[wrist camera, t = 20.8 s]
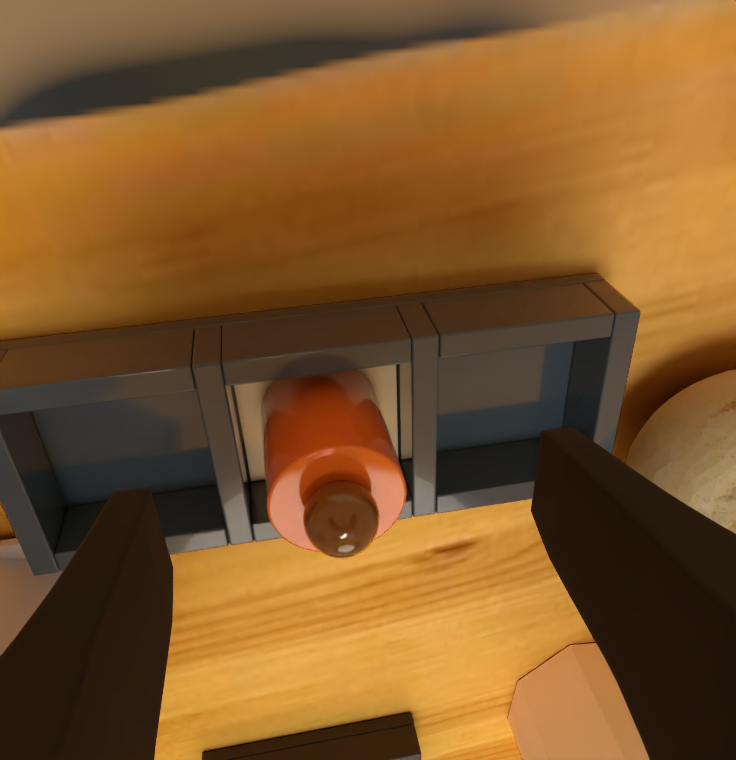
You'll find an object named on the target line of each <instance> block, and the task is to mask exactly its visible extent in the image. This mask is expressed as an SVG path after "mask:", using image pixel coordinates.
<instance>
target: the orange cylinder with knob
mask: <svg viewBox="0 0 736 760" xmlns="http://www.w3.org/2000/svg"><path fill="white" fill-rule="evenodd" d="M260 418H261V432H262V446H263V460H264V475H265V489H266V503H267V512H268V516H269V519H270V522H271V524H272V525H273V527H274V528H275V530H276V531H277V532H278V533H279V534H280V535H281V536H282V537H283V538H284V539H285V540H287V541H288V542H290V543H292V544H294V545H296V546H298V547H300V548H303V549H307V550H311V551H317V552H321V553H323V554H325V555H327V556H330V557H334V558H348V557H352V556H355V555H357V554H359V553H361V552H362V551H364V550H365V549H366V548H367V547H368V546H369V545H370V544H371V543H372V541H373V540H375V539H376V538H378V537H379V536H381V535H382V534H384V533H385V532H386V531H387V530H388V529H389V528H390V527H391V526H392V525H393V524H394V523H395V522H396V520H397V519H398V517H399V516H400V514H401V512H402V510H403V507H404V504H405V501H406V494H407V488H406V482H405V478H404V475H403V472H402V469H401V466H400V463H399V460H398V457H397V454H396V451H395V448H394V445H393V442H392V439H391V436H390V433H389V430H388V427H387V424H386V421H385V418H384V415H383V412H382V409H381V406H380V403H379V400H378V397H377V394H376V391H375V389H374V387H373V385H372V383H371V382H370V381H369V379H368V378H367V377H366V376H365V375H364V374H363V373H361V372H360V371H358V370H350V371H342V372H335V373H327V374H319V375H311V376H303V377H295V378H288V379H280V380H275V381H274V382H273V383H272V384H271V385H270V387H269V388H268V390H267V391H266V393H265V395H264V397H263V400H262V403H261V409H260Z"/></svg>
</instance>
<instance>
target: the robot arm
mask: <svg viewBox="0 0 736 760" xmlns="http://www.w3.org/2000/svg"><path fill="white" fill-rule="evenodd" d="M531 512H532V515H533V517H534V520H535V523H536V525H537V528H538V531H539V533H540V536H541V538H542V541H543V543H544V546H545V548H546V551H547V553H548V556H549V558H550V560H551V562H552V564H553V566H554V567H555V569H556V571H557V573H558V575H559V577H560V579H561V580H562V582H563V584H564V586H565V588H566V590H567V591H568V593H569V595H570V597H571V599H572V600H573V602H574V604H575V606H576V608H577V609H578V611H579V613H580V615H581V617H582V618H583V620H584V622H585V624H586V626H587V627H588V629H589V631H590V633H591V635H592V636H593V638H594V640H595V642H596V644H597V645H598V647H599V649H600V651H601V653H602V654H603V656H604V658H605V660H606V662H607V664H608V666H609V668H610V670H611V672H612V674H613V676H614V678H615V680H616V682H617V684H618V686H619V688H620V691H621V693H622V695H623V697H624V700H625V702H626V704H627V707H628V709H629V711H630V714H631V716H632V718H633V721H634V723H635V725H636V728H637V730H638V732H639V735H640V737H641V739H642V742H643V744H644V747H645V749H646V752H647V754H648V757H649V759H650V760H736V534H735V533H734V532H732V531H730V530H728V529H726V528H725V527H723V526H721V525H719V524H718V523H716V522H714V521H713V520H711V519H709V518H708V517H706V516H704V515H703V514H701V513H700V512H698V511H696V510H695V509H693V508H691V507H690V506H688V505H686V504H685V503H683V502H682V501H680V500H678V499H677V498H675V497H674V496H672V495H671V494H669V493H668V492H666V491H665V490H663V489H662V488H660V487H658V486H657V485H656V484H654V483H653V482H651V481H650V480H648V479H647V478H645V477H644V476H642V475H641V474H639V473H638V472H636V471H635V470H634V469H632V468H631V467H629V466H628V465H626V464H625V463H624V462H622V461H621V460H619V459H618V458H616V457H615V456H614V455H612V454H611V453H609V452H608V451H607V450H605V449H604V448H602V447H601V446H600V445H598V444H597V443H595V442H594V441H592V440H591V439H590V438H588V437H587V436H585V435H584V434H582V433H581V432H579V431H578V430H576V429H575V428H573V427H572V426H571V427H564V428H558V429H551V430H544V431H541V434H540V442H539V450H538V459H537V467H536V475H535V483H534V491H533V499H532V507H531ZM172 612H173V566H172V562H171V559H170V555H169V552H168V548H167V545H166V541H165V538H164V534H163V531H162V527H161V524H160V520H159V517H158V514H157V510H156V507H155V503H154V500H153V496H152V493H151V489H150V487H146V488H140V489H133V490H126V491H119V492H114V493H113V494H112V495H111V497H110V498H109V499H108V501H107V503H106V504H105V506H104V507H103V509H102V511H101V512H100V514H99V516H98V517H97V519H96V521H95V522H94V524H93V526H92V527H91V529H90V531H89V532H88V534H87V535H86V537H85V539H84V540H83V542H82V543H81V545H80V546H79V548H78V550H77V551H76V553H75V554H74V556H73V557H72V559H71V560H70V562H69V563H68V565H67V566H66V568H65V569H64V571H61V570H60V572H58V573H52V574H45V575H39V576H34V575H33V573H32V570H31V568H30V566H29V564H28V562H27V559H26V557H25V555H24V553H23V551H22V548H21V546H20V544H19V542H18V540H17V538H13V539H6V540H0V760H154V755H155V745H156V737H157V730H158V723H159V716H160V709H161V701H162V694H163V687H164V680H165V673H166V665H167V658H168V651H169V643H170V636H171V628H172Z"/></svg>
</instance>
